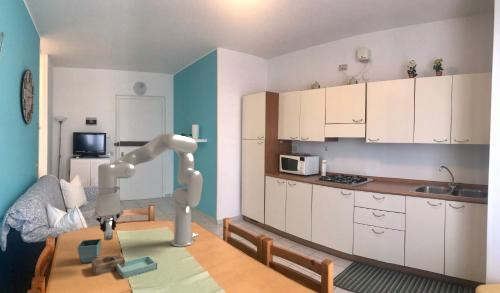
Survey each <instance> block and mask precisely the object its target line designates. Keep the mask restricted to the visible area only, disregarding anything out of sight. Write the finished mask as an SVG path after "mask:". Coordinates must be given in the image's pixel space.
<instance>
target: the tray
mask: <svg viewBox="0 0 500 293" xmlns="http://www.w3.org/2000/svg"><path fill="white" fill-rule="evenodd" d="M154 269H155V270H158V262H157V261H156V260H154V259H153V257H152V256H150V255H144V256H141V257H137V258H132V259H129V260H125V267H122V268H121V266H120V265H119V264H117V270H116V271H117V273H118V274H119V275H120V277H121V278H122V279H127V278H130V276H131V277H134V276H133V275H135V276H137V274H138V275H141V273H142V274H145V273H148V272H152V271H154ZM151 270H152V271H151ZM144 272H145V273H144Z"/></svg>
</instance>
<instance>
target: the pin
mask: <svg viewBox="0 0 500 293" xmlns="http://www.w3.org/2000/svg"><path fill="white" fill-rule="evenodd" d="M113 220H114V218H113V217H112V216H104V223H105V232H103V240H104V241H111V240H113V239H114V237H113V236H114V233H113V232H114V230H113Z"/></svg>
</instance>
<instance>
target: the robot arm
mask: <svg viewBox="0 0 500 293" xmlns="http://www.w3.org/2000/svg"><path fill="white" fill-rule="evenodd" d="M197 149H198V142H197V140H196V139H194V138H192V137H188V136H184V135H180V134H176V133H161V134H158V136H156V137H154V138H153V139H152V140H150V141H148V142H147V143H145V144H144V145H143V146H140V147H139V148H136V149H134V150H131V151H129V152H128V153H127V152H126V153H125V154H123V155H121V157H119V158H117V159H116V160H115V161H113V162H112V163H100V164H99V165H98V167H97V177H98V178H97V180H98V181H97V183H98V184H97V185H98V186H97V187H98V190H97V191H98V193H97V194H96V195H95V200H94V202H95V204H94V211H93V213H92V215H91V217H90V218H91V219H92V220H94V221H97V222H98V223H99V225H100V226H99V230H100V231H101V232H102V233H104V232H105V223H104V217H113V218H114V220H113V231H115V230H116V228H117V221H118V219H119V218H120V217H121V216H122V215H124V214H125V212H124V211H123V209H122V207H121V201H120V195H119V192H118V191H120V190H121V187H120V186H117V184H118V183H117V179H124V180H125V179H130V178H132V177H134V176H135V174H136V167H135V166H137V165H140V164H144V163H149V162H152V161H153V160H155V159H156V158H157V157H159V156H160V155H161V154H163V153H164V152H166V151H167V150H170V151H174V152H175V154H177V157H178V168H177V169H178V170H177V178H176V180H177V183H178V184H179V185H180V186H184V187H177V188H176V189H175V190H174V191H173V192H172V196H171V199H172V205H173V238H172V240H171V241H170V244H171V245H172V246H174V247H177V248H178V247H182V248H183V247H188V246H191V245H193V244H194V243H195V242H194V241H195V238H198V237H199V234H200V233H194V232H193V233H192V210H191V208H196V207H198V205H199V203H200V202H201V197H202V191H203V190H202V189H203V185H204V184H203V181H204V180H203V175H202V173H201V171H199V170H196V169H195V156H194V153H195V152H196V151H197Z"/></svg>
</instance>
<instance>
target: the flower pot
mask: <svg viewBox="0 0 500 293" xmlns="http://www.w3.org/2000/svg"><path fill="white" fill-rule="evenodd" d="M102 240H103V239H102V238H97V239H85V240H81V242H80V243H79V244H78V246H77V253H78V257H79V259H80V261H81V262H82V264H87V263H88V264H89V263H92V260H93V259H97V258H99V256H100V252H101V248H102Z"/></svg>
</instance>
